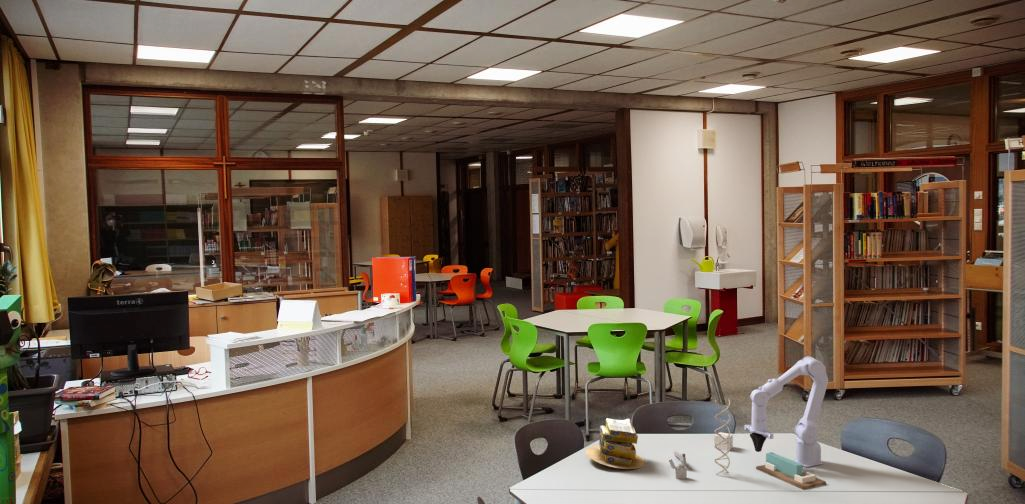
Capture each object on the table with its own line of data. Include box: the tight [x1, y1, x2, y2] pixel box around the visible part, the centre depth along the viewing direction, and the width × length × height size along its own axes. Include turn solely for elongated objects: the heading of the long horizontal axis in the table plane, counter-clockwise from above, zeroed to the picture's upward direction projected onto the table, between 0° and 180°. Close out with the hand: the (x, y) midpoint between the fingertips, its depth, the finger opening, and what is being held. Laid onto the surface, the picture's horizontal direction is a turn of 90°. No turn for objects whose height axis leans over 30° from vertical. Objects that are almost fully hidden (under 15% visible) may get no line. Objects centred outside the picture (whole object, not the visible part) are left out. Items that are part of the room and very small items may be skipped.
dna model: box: [714, 398, 731, 475], centre depth 281 cm, size 7×6×30 cm
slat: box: [765, 451, 803, 477], centre depth 281 cm, size 3×16×5 cm, turn 25°
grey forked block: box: [667, 457, 688, 480], centre depth 277 cm, size 7×2×8 cm, turn 87°
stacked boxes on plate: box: [585, 417, 645, 470], centre depth 296 cm, size 25×25×17 cm
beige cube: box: [713, 431, 734, 452], centre depth 312 cm, size 6×6×6 cm
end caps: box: [764, 461, 817, 483], centre depth 278 cm, size 7×19×2 cm, turn 25°
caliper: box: [673, 450, 687, 468], centre depth 296 cm, size 20×1×6 cm, turn 178°
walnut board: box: [755, 464, 827, 490], centre depth 278 cm, size 12×24×1 cm, turn 25°
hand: (758, 451), depth 293 cm, fingers closed
